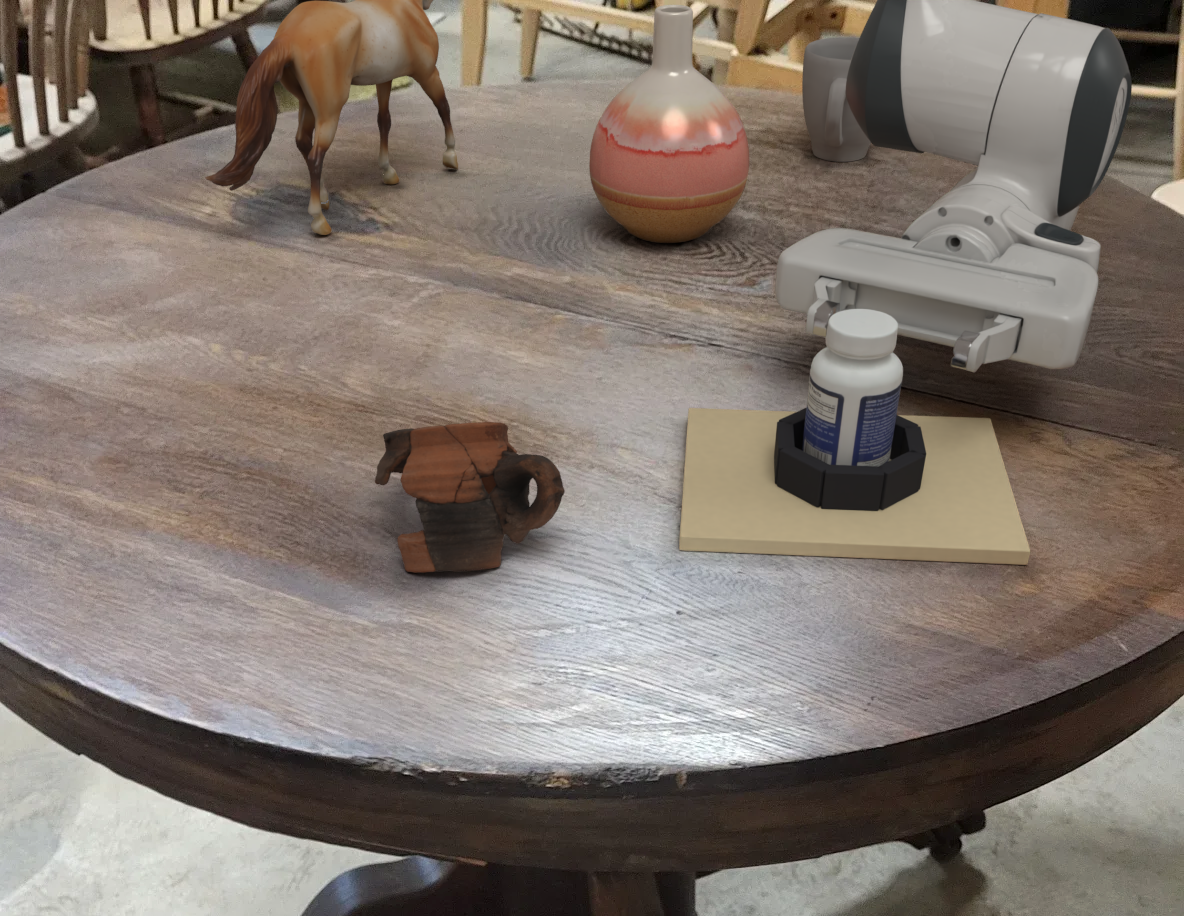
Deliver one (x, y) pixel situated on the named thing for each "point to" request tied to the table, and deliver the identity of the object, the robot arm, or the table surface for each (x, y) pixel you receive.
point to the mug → (831, 101)
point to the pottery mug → (467, 493)
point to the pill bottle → (854, 390)
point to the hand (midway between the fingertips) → (888, 341)
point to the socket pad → (848, 492)
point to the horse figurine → (335, 83)
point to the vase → (669, 144)
